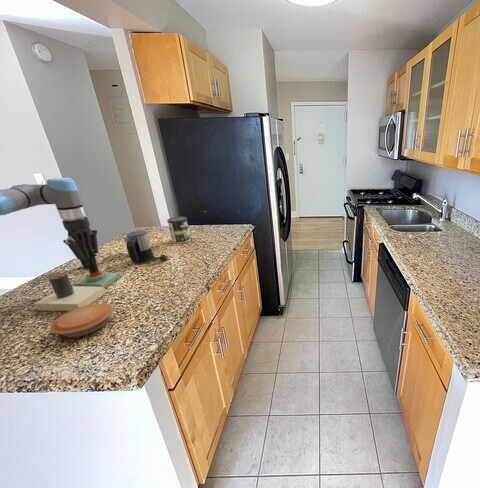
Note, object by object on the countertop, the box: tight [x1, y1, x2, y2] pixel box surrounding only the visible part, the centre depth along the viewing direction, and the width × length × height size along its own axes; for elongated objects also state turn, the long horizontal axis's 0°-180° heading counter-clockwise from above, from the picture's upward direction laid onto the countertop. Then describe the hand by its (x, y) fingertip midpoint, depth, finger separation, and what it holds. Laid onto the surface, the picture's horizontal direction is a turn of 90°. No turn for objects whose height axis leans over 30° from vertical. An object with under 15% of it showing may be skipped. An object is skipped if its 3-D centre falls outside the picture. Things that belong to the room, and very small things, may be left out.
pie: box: [50, 303, 114, 338], centre depth 86 cm, size 15×16×5 cm
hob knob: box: [48, 272, 74, 298], centre depth 98 cm, size 5×5×8 cm
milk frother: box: [125, 229, 169, 264], centre depth 132 cm, size 14×16×15 cm
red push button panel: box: [72, 270, 122, 289], centre depth 113 cm, size 12×10×4 cm
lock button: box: [88, 269, 101, 277], centre depth 112 cm, size 4×4×2 cm
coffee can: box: [166, 216, 192, 245], centre depth 158 cm, size 10×10×14 cm
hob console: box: [33, 285, 107, 312], centre depth 100 cm, size 16×12×3 cm
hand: (94, 271), depth 111 cm, fingers closed
